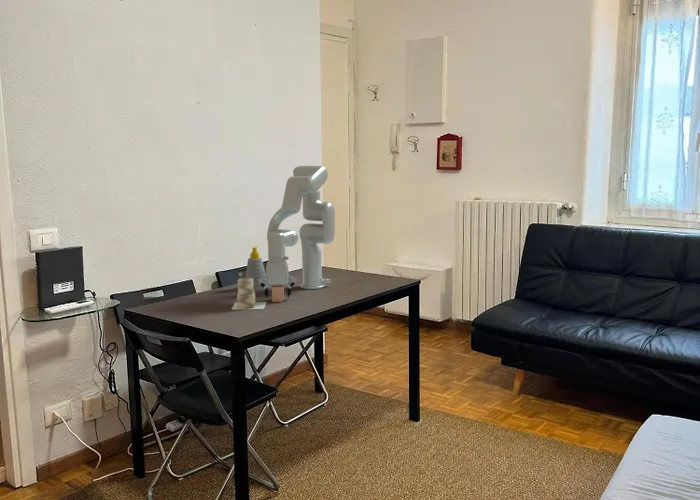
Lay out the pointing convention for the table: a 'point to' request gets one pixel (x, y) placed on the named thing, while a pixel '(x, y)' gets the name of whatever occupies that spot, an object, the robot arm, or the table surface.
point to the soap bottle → (255, 269)
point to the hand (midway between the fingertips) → (277, 296)
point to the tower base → (246, 300)
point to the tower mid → (245, 286)
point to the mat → (257, 306)
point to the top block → (277, 293)
